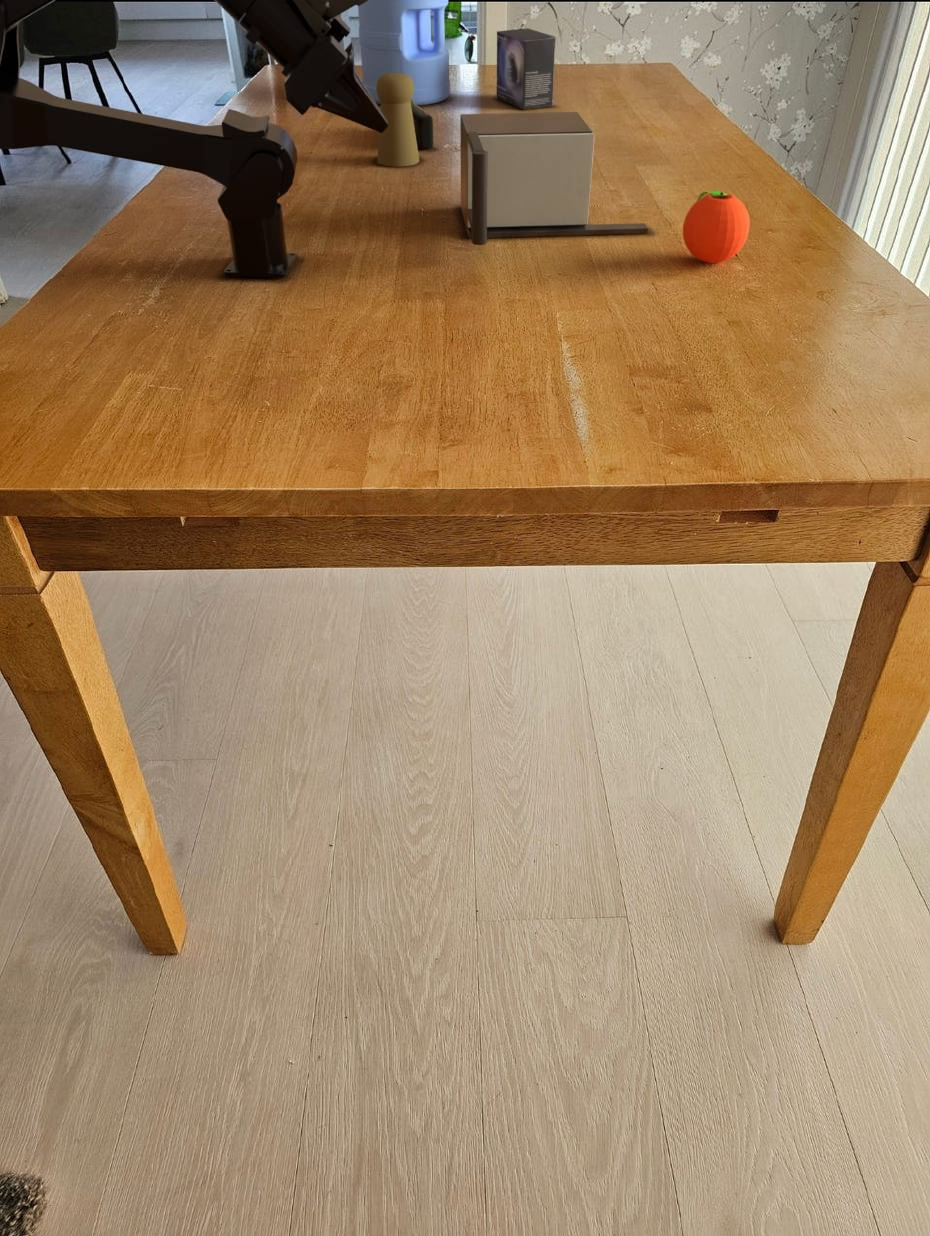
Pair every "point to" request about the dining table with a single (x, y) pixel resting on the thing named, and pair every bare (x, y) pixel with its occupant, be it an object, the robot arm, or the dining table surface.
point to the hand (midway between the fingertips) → (385, 128)
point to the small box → (525, 68)
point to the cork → (397, 121)
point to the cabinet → (530, 125)
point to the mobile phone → (422, 127)
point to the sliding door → (528, 180)
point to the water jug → (405, 46)
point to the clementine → (716, 227)
